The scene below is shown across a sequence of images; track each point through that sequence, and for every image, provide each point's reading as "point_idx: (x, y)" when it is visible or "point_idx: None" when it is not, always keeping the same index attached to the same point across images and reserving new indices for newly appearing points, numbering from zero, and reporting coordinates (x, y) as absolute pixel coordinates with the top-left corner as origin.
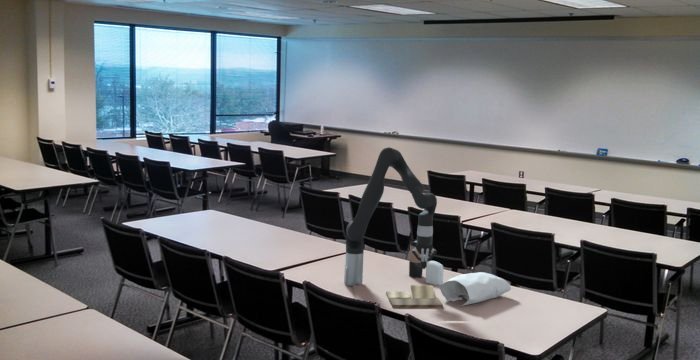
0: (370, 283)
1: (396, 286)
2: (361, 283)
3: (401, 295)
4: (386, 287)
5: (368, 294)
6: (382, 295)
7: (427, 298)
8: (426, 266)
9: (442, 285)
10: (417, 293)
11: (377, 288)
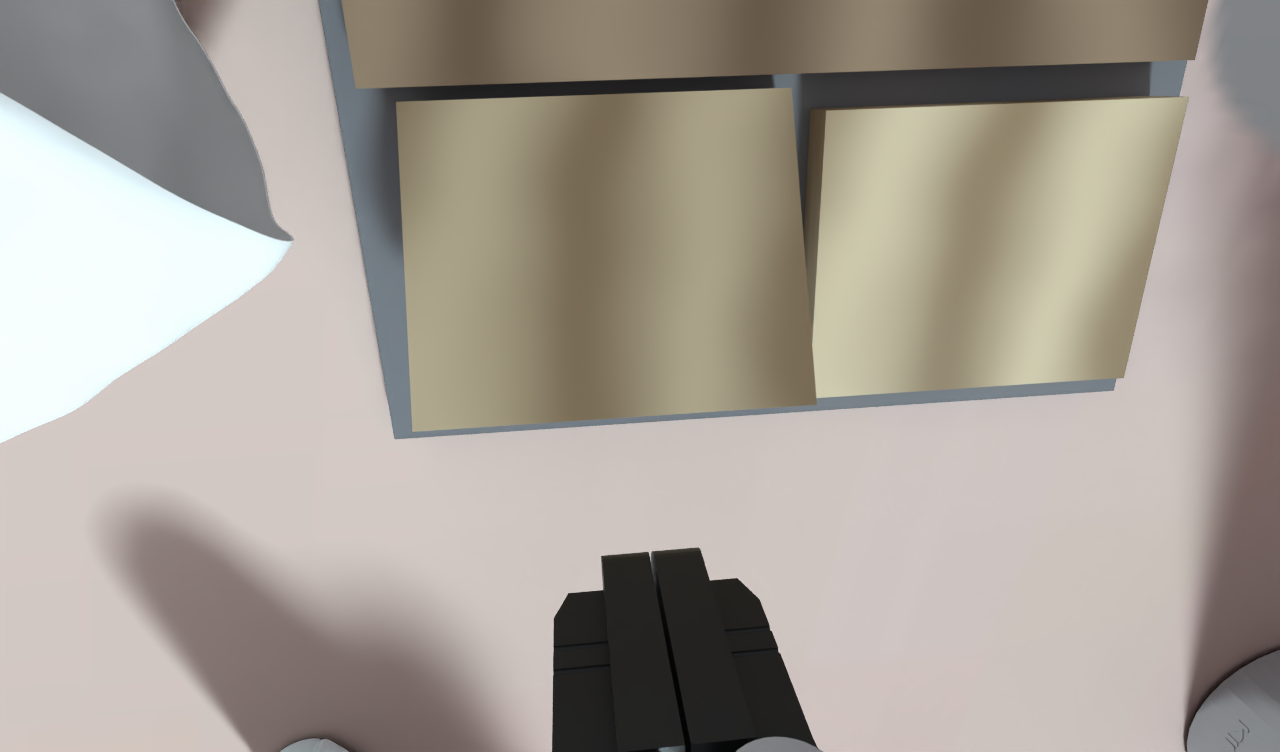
0: (1092, 748)
1: (835, 695)
2: (1232, 701)
3: (959, 212)
4: (960, 655)
5: (1259, 414)
6: None
7: (556, 78)
8: (556, 623)
9: (201, 309)
10: (718, 205)
11: (1074, 615)
